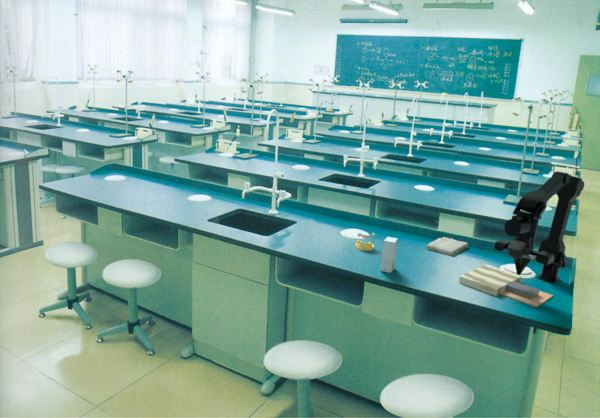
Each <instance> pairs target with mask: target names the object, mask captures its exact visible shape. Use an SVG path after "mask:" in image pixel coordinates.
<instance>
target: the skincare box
mask: <svg viewBox="0 0 600 418" xmlns="http://www.w3.org/2000/svg"><path fill="white" fill-rule="evenodd" d="M398 240H399V239H398V237H390V236H387V237H386V238H385V239H383V244H382V245H383V247H382V253H381V260H380V261H381V262H380V268H379V270H380V272H382V273H383V272H385V273H389V274H391V273H392V272H393V270H394V268H395V264H396V263H395V262H396V256H397V247H398Z"/></svg>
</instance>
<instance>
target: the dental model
mask: <svg viewBox="0 0 600 418" xmlns="http://www.w3.org/2000/svg"><path fill="white" fill-rule="evenodd" d="M356 234H357V237H358V238H360V237H362V238H363V239H365V240H366V239H369V238H370V237H372V238H373V239H374V238H376V233H375V232H372V233H371V234H369V235H367V234H366V235H365V234H362V233H361V232H358V233H356ZM354 247H355V248H357V249H358V250H361V251H364V252H365V251H374V248H375V245H374V243H372V242H371V241H369V242H363V241H361V240H358V239H357V240H356V241H355V246H354Z"/></svg>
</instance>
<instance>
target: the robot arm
mask: <svg viewBox="0 0 600 418" xmlns="http://www.w3.org/2000/svg"><path fill="white" fill-rule="evenodd" d="M584 187H585V182H584V181H583V178H582V177H578V176H573V175H571V174H570V173H568V172H562V171H554V172H553V173H552V175H551V177H549V179H547V180H546V181H545V182H544V183H543V184H542V185H540V187H538V189H536V190H533V191H529V192H527V193H525V194H524V195H523V196H522V197H521V198H520V199H519V201H518V202H517V204H516V206H515V208H514V210H513V212H512V216H511V219H508V220H506V222H505V224H504V226H503V227H504V232H505V233H506V234H507V236H509V237H513V238H514V239H513V240H512V241H509V240H506V239H500V240H497V241H495V242H494V244H493V250H495V251H498V252H503V251H504V250H507V255H508V256H509V257H511V259H512V260H513V262H514V265H515V271H516V274H517V275H520V276H522V275H521V274H522V273H523V272H524V270H525V268H526V267H527V266H528V265H529V264H530V262H532V261H534V260H535V261H536V262H537V263H538V264H542V266H541V272H540V273H539V274H538V275H536V278H538V279H540V280H543V281H547V282H549V283H553V284H556V282H559V281H560V280H561V277H558V276H559V272H560V269H563V268H564V269H565V268H566V266H567V264H568V258H567V255H566V254H565V252H566V246H565V242H564V237H565V232H566V229H567V225H568V222H569V217H570V214H571V210H572V207H573V203H574V201H575V200H576V199H577V198H579V197H580V195H581V194H582V191H583V190H584ZM555 194H556V196H557V198H558V199H557V204H556V207H555V210H554V214H553V219H552V220H551V221H552V222H551V225H550V229H549V233H548V237H546V238H545V239H544V240H541V241H540V245H539V247H538V250H537V251H534V250H535V248H536V246H535V241H536V239H537V237H538V235H537V232H538V227H539V222H540V220H541V219H542V218H543V217H542V215H543V213H544V212H545V211H546V209H547V205H548V204H547V203H548V201H549V200H550V199H551V198H552V197H554V196H555Z"/></svg>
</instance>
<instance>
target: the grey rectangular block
mask: <svg viewBox="0 0 600 418" xmlns="http://www.w3.org/2000/svg"><path fill="white" fill-rule="evenodd" d="M506 291H509V292H511V293H514V294H517V295H520V296H523V297H525V298H528V299H533V298H535V297H536V296H538V295H539V291H540V289H538V288H535V287H533V286H530V285H526V284H524V283H522V282H521V283H518V282H515V281H513V282H511V283H509V284H508V285H506Z"/></svg>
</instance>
